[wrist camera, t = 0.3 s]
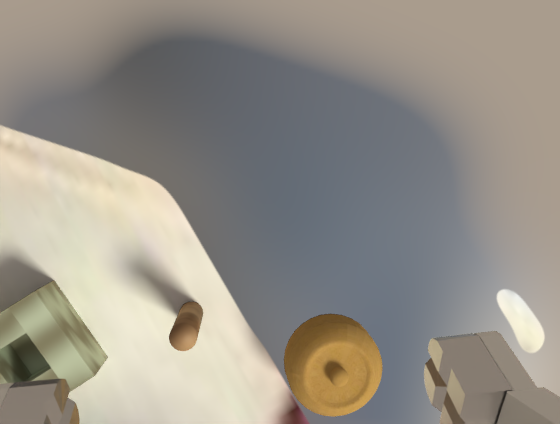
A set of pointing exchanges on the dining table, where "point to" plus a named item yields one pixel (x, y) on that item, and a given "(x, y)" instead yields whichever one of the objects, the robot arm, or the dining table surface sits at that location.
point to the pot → (332, 365)
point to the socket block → (47, 341)
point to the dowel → (186, 326)
